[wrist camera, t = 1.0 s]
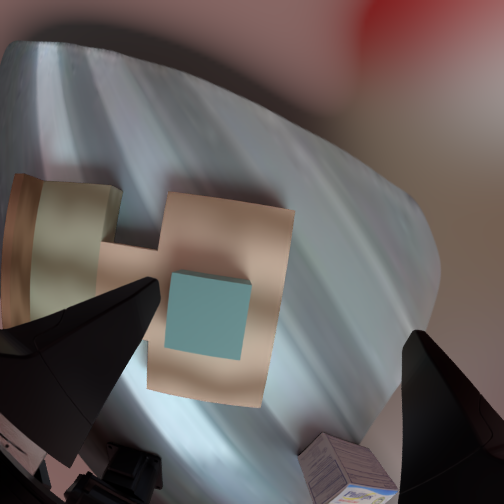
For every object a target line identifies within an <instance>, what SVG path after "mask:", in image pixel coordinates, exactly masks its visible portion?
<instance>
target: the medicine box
mask: <svg viewBox="0 0 504 504" xmlns="http://www.w3.org/2000/svg"><path fill="white" fill-rule="evenodd" d="M298 461H299V464H300V466H301V469H302V472H303V475H304V478H305V481H306V484H307V487H308V489H309V492H310V495H311V498H312V501H313V504H385V503H386V502H387V501H388V500H389V499H391V497H393V496H394V495H395V494H396V493H397V492H398V488H397V486H396V485H395V484H394V482H393V481H392V479H391V478H390V477H389V475H388V474H387V473H386V471H385V470H384V469H383V467H382V466H381V464H380V463H379V461H378V460H377V459H376V457H375V456H374V454H373V453H372V452H371V451H370V449H369V448H366V447H363V446H360V445H357V444H353V443H350V442H347V441H344V440H341V439H339V438H336V437H333V436H330V435H328V434H325V433H323V432H322V433H321V434H320V435H319V436H318V437H317V438H316V439H315V440H314V442H313V443H312V444H311V445H310V446H309V447H308V448H307V449H306V450H305V451H304V452H302V453H301V454H300V455H299V456H298Z"/></svg>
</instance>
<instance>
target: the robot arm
mask: <svg viewBox="0 0 504 504" xmlns="http://www.w3.org/2000/svg"><path fill="white" fill-rule="evenodd" d="M160 301H161V293H160V286H159V281H158V279H156V278H153V277H149V276H147V277H144V278H142V279H139V280H136V281H134V282H131V283H129V284H126V285H124V286H121V287H118V288H116V289H113V290H111V291H108V292H106V293H103V294H101V295H98V296H96V297H93V298H90V299H88V300H85V301H83V302H80V303H78V304H75V305H73V306H70V307H68V308H66V309H63V310H60V311H58V312H55V313H53V314H50V315H48V316H45V317H42V318H39V319H36V320H33V321H30V322H27V323H24V324H20V325H17V326H14V327H11V328H8V329H2V330H1V329H0V504H149V503H150V500H151V497H152V494H153V491H154V488H155V489H159V490H161V489H162V487H163V482H162V462H161V458H159V457H157V456H154V455H150V454H146V453H143V452H139V451H136V450H132V449H129V448H126V447H123V446H120V445H117V444H114V443H111V442H108V443H107V445H106V447H107V452H108V457H109V464H108V466H107V467H106V469H105V471H104V473H103V474H102V476H101V478H100V479H99V478H98V477H96V476H94V475H93V474H92V473H91V472H89V471H88V472H87V473H86V475H85V474H83V475H82V474H79V476H78V477H77V479H76V480H75V481H74V483H73V484H72V485H71V486H70V487H69V488H68V489H67V490H66V492H65V493H64V497H65V499H66V502H64V501H63V500H61V499H60V498H58V497H57V496H56V495H55V494H54V493H52V492H51V491H50V489H51V483H50V480H49V476H48V472H47V467H46V463H45V460H44V458H45V456H46V455H47V453H48V454H49V455H51V456H52V457H53V458H55V459H56V460H58V461H59V462H61V463H62V464H64V465H65V466H67V467H68V468H70V467H71V466H72V464H73V462H74V460H75V458H76V456H77V454H78V452H79V450H80V448H81V446H82V444H83V443H84V441H85V439H86V437H87V435H88V433H89V431H90V429H91V427H92V425H93V423H94V422H95V420H96V418H97V416H98V414H99V412H100V411H101V409H102V407H103V405H104V403H105V402H106V400H107V398H108V396H109V395H110V393H111V391H112V389H113V388H114V386H115V384H116V382H117V381H118V379H119V377H120V376H121V374H122V372H123V370H124V369H125V367H126V365H127V364H128V362H129V360H130V359H131V357H132V355H133V354H134V352H135V350H136V349H137V347H138V345H139V344H140V342H141V341H142V339H143V337H144V335H145V333H146V331H147V329H148V327H149V325H150V323H151V321H152V319H153V317H154V315H155V312H156V310H157V308H158V306H159V304H160ZM401 390H402V413H403V447H402V469H401V481H400V491H399V493H400V494H399V499H398V504H504V420H503V419H502V418H501V417H500V416H499V415H498V413H497V412H496V411H495V410H494V409H493V408H492V407H491V405H490V404H489V403H488V402H487V401H486V399H485V398H484V397H483V396H482V395H481V394H480V392H479V391H478V390H477V389H476V387H475V386H474V385H473V384H472V383H471V382H470V380H469V379H468V378H467V377H466V376H465V375H464V374H463V372H462V371H461V370H460V369H459V368H458V367H457V366H456V364H455V363H454V362H453V361H452V360H451V359H450V358H449V357H448V356H447V354H445V352H444V351H443V350H442V349H441V348H440V347H439V346H438V345H437V344H436V343H435V342H434V341H433V340H432V338H431V337H430V336H429V335H428V334H427V333H426V332H425V331H422V330H414V331H412V333H411V334H410V336H409V338H408V340H407V341H406V343H405V345H404V347H403V350H402V388H401Z"/></svg>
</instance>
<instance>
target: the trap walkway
mask: <svg viewBox="0 0 504 504" xmlns="http://www.w3.org/2000/svg"><path fill="white" fill-rule="evenodd" d="M122 194H123V191H121V190H119V189H117V188H115V187H113V186H111V185H101V184H88V183H74V182H57V181H43V180H40V179H38V178H35V177H32V176H30V175H27V174H15V176H14V180H13V185H12V189H11V194H10V199H9V204H8V210H7V216H6V223H5V230H4V239H3V249H2V265H1V309H2V324H3V329H8V328H11V327H14V326H17V325H20V324H24V323H27V322H30V321H33V320H36V319H39V318H42V317H45V316H48V315H50V314H53V313H55V312H58V311H60V310H63V309H66V308H68V307H70V306H73V305H75V304H78V303H80V302H83V301H85V300H88V299H90V298H93V297H96V296H98V295H101V294H103V293H106V292H108V291H111V290H113V289H116V288H118V287H121V286H124V285H126V284H129V283H131V282H134V281H136V280H139V279H142V278H144V277H147V276H149V277H153V278H156V279H158V281H159V286H160V293H161V301H160V304H159V306H158V308H157V310H156V312H155V315H154V317H153V319H152V321H151V323H150V325H149V327H148V329H147V331H146V333H145V335H144V337H143V340H147V341H148V362H147V389H149V390H153V391H157V392H161V393H166V394H170V395H175V396H180V397H185V398H190V399H195V400H201V401H207V402H214V403H220V404H228V405H236V406H245V407H255V408H260V407H261V403H262V398H263V393H264V389H265V384H266V379H267V374H268V369H269V364H270V359H271V354H272V349H273V343H274V338H275V333H276V327H277V322H278V316H279V311H280V305H281V299H282V293H283V287H284V281H285V275H286V269H287V262H288V256H289V250H290V243H291V236H292V229H293V222H294V215H295V211H294V210H289V209H283V208H278V207H272V206H266V205H260V204H254V203H248V202H242V201H235V200H229V199H222V198H215V197H208V196H201V195H193V194H186V193H178V192H170V191H168V195H167V200H166V205H165V210H164V216H163V222H162V227H161V233H160V240H159V246H158V250H155V249H149V248H144V247H138V246H132V245H126V244H120V243H114V238H115V232H116V226H117V220H118V214H119V209H120V204H121V199H122ZM181 269H183V270H189V271H195V272H201V273H207V274H213V275H220V276H226V277H232V278H239V279H245V280H250V282H251V284H252V289H251V295H250V302H249V308H248V314H247V320H246V327H245V333H244V339H243V345H242V351H241V358H240V360H232V359H225V358H219V357H212V356H206V355H200V354H195V353H189V352H184V351H179V350H174V349H169V348H165V347H164V342H165V330H166V319H167V309H168V300H169V291H170V283H171V275H172V272H174V271H178V270H181Z"/></svg>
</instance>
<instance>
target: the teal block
mask: <svg viewBox="0 0 504 504" xmlns="http://www.w3.org/2000/svg"><path fill="white" fill-rule="evenodd" d="M251 289H252V284H251V282H250V280H245V279H239V278H232V277H226V276H220V275H213V274H207V273H201V272H195V271H189V270H183V269H181V270H178V271H174V272H172V275H171V283H170V291H169V300H168V309H167V319H166V330H165V342H164V347H165V348H169V349H174V350H179V351H184V352H189V353H195V354H200V355H206V356H212V357H219V358H225V359H232V360H240V358H241V351H242V345H243V339H244V333H245V327H246V320H247V314H248V308H249V302H250V295H251Z"/></svg>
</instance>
